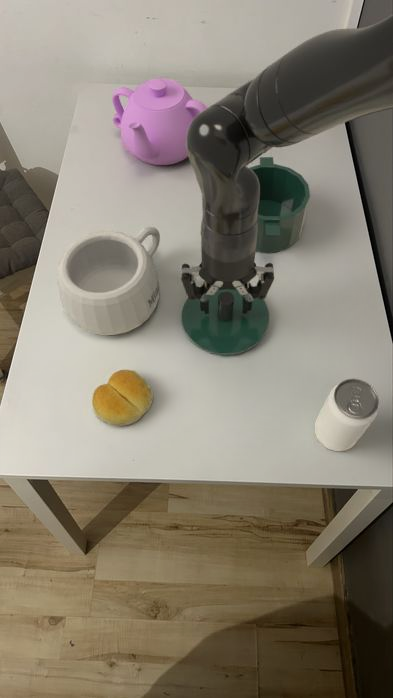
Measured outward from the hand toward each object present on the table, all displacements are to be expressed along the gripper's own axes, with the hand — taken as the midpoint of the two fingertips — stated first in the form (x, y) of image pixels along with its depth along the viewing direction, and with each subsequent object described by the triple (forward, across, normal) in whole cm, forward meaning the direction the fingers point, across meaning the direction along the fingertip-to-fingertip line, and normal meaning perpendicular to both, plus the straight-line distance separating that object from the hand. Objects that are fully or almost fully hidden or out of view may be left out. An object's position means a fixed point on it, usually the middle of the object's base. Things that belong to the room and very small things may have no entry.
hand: (225, 309), depth 82 cm
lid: (+2, 0, 0) cm, 2 cm away
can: (+3, +16, -20) cm, 26 cm away
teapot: (+3, -13, +42) cm, 44 cm away
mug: (+3, -18, +6) cm, 19 cm away
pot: (+3, +8, +21) cm, 23 cm away
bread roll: (+3, -16, -15) cm, 22 cm away
